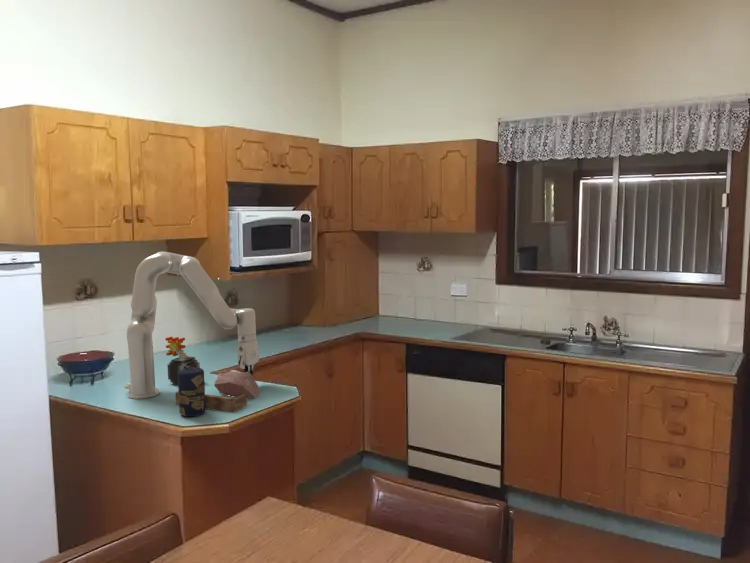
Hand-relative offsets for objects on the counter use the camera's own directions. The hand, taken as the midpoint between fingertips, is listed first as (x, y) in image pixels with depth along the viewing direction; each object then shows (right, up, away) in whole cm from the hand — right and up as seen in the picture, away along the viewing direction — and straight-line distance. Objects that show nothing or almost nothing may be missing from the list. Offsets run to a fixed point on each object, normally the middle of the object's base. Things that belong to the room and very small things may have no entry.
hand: (248, 379), depth 281 cm
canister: (-14, -8, -35) cm, 39 cm away
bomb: (-30, -3, +8) cm, 31 cm away
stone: (-2, -5, -10) cm, 11 cm away
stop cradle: (-10, -6, -24) cm, 27 cm away
